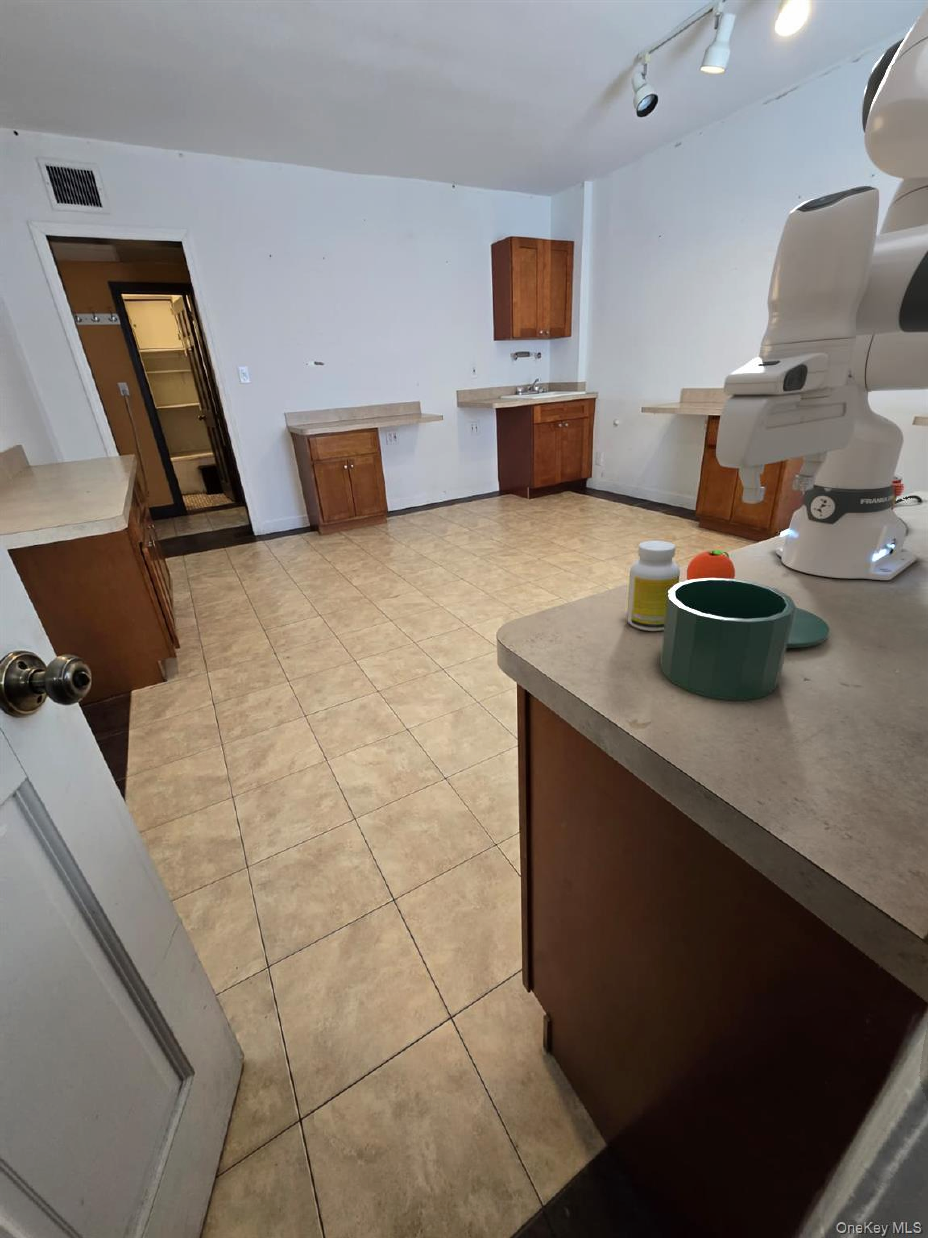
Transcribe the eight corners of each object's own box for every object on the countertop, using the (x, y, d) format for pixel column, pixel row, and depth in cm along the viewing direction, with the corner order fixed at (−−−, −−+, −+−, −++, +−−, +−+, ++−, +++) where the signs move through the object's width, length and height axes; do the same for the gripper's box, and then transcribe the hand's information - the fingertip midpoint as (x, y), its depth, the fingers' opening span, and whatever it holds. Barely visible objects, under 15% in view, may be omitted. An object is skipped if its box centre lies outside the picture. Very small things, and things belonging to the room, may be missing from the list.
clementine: (705, 581, 87) (711, 540, 84) (744, 592, 82) (752, 549, 79) (674, 593, 83) (679, 550, 80) (713, 605, 78) (720, 561, 75)
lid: (755, 601, 78) (761, 572, 76) (850, 634, 67) (859, 601, 65) (691, 622, 73) (695, 592, 71) (782, 662, 62) (790, 627, 60)
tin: (709, 637, 69) (719, 571, 65) (802, 679, 58) (821, 602, 54) (638, 663, 64) (644, 592, 60) (725, 713, 54) (740, 632, 50)
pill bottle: (677, 633, 70) (687, 552, 66) (628, 632, 72) (634, 552, 67) (670, 614, 76) (678, 538, 71) (624, 613, 77) (630, 538, 73)
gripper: (828, 367, 64) (805, 480, 70) (713, 379, 56) (698, 505, 62) (885, 364, 59) (855, 486, 64) (768, 376, 51) (745, 514, 57)
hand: (777, 496), depth 63 cm, fingers open, 8 cm apart
